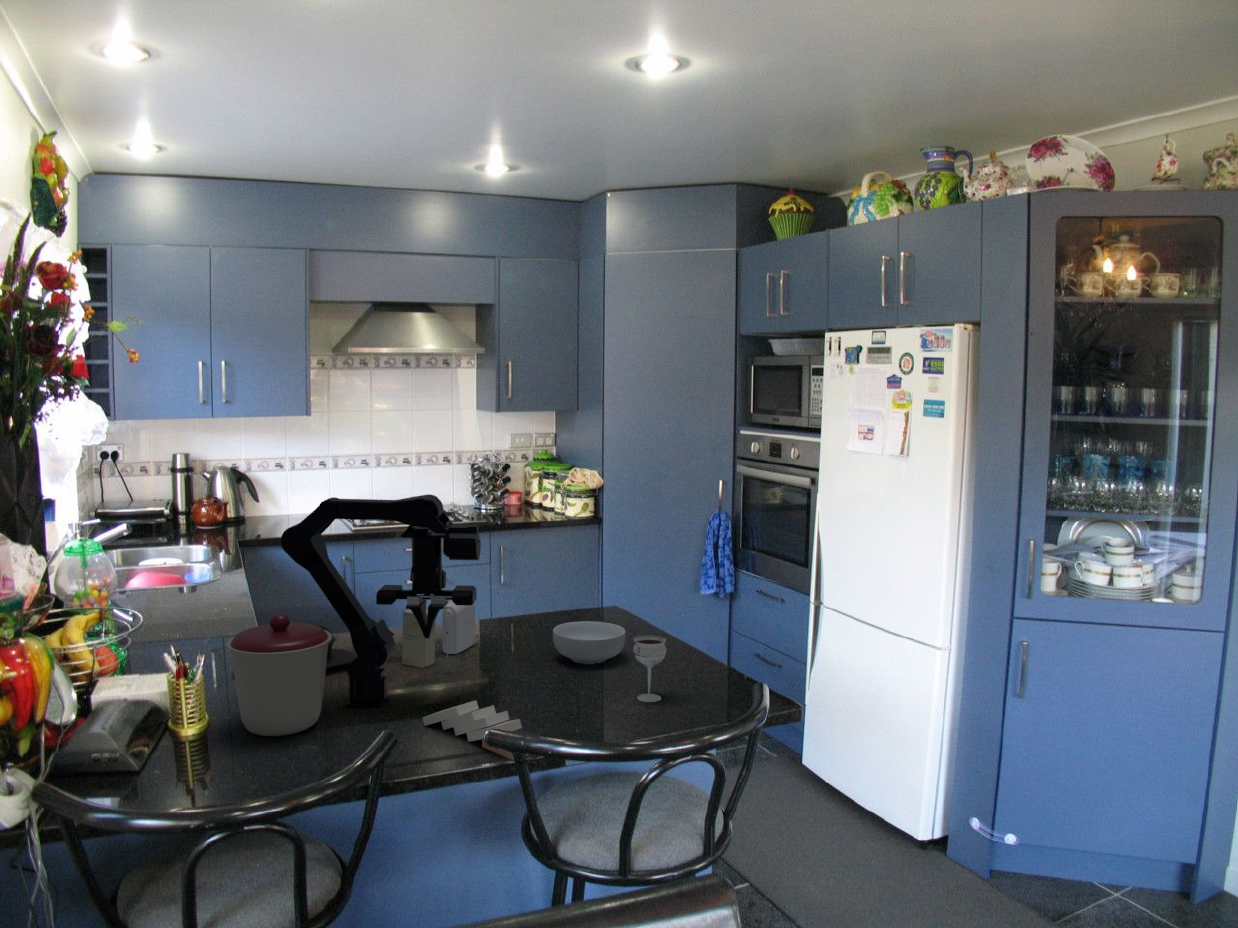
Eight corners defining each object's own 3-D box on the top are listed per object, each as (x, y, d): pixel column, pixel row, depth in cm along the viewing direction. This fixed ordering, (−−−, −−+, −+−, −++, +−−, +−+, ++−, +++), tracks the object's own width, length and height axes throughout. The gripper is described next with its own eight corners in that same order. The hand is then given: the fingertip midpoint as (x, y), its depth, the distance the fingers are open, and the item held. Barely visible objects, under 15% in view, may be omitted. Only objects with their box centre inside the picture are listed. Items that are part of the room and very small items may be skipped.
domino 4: (466, 732, 169) (495, 726, 162) (489, 725, 173) (519, 718, 165) (468, 741, 169) (498, 735, 162) (491, 734, 172) (521, 727, 165)
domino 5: (482, 738, 167) (520, 754, 160) (504, 731, 170) (542, 745, 163) (482, 747, 167) (520, 763, 160) (504, 739, 170) (542, 754, 164)
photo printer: (456, 656, 220) (456, 603, 219) (440, 653, 222) (439, 601, 221) (477, 644, 230) (477, 594, 229) (462, 642, 232) (461, 592, 230)
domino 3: (453, 726, 172) (484, 717, 165) (475, 719, 176) (507, 710, 169) (455, 735, 172) (487, 726, 165) (477, 728, 175) (509, 719, 169)
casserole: (237, 690, 195) (236, 650, 195) (231, 664, 212) (230, 627, 211) (361, 675, 206) (360, 636, 205) (347, 652, 223) (346, 616, 222)
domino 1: (422, 717, 177) (455, 707, 171) (443, 710, 181) (476, 699, 174) (424, 725, 176) (458, 716, 170) (445, 718, 180) (478, 708, 174)
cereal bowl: (624, 671, 210) (625, 639, 210) (549, 670, 211) (549, 638, 210) (625, 649, 227) (626, 620, 227) (556, 648, 228) (556, 619, 227)
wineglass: (637, 704, 189) (638, 645, 188) (628, 693, 195) (629, 636, 194) (670, 701, 191) (671, 643, 190) (659, 691, 197) (660, 634, 196)
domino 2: (441, 721, 175) (471, 711, 168) (463, 714, 178) (493, 704, 172) (443, 729, 174) (473, 720, 168) (465, 723, 178) (496, 713, 171)
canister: (212, 725, 175) (209, 613, 173) (305, 702, 188) (303, 597, 186) (254, 753, 162) (251, 632, 161) (351, 727, 175) (349, 615, 173)
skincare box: (401, 664, 214) (400, 611, 212) (414, 659, 217) (414, 606, 216) (423, 668, 211) (423, 614, 210) (436, 663, 215) (436, 610, 213)
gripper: (480, 552, 195) (480, 627, 196) (389, 551, 195) (389, 626, 196) (472, 563, 183) (472, 642, 185) (375, 562, 183) (376, 641, 185)
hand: (427, 637), depth 188 cm, fingers closed
